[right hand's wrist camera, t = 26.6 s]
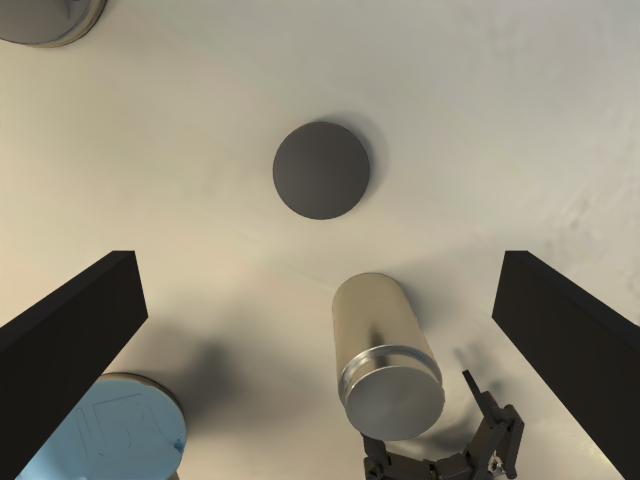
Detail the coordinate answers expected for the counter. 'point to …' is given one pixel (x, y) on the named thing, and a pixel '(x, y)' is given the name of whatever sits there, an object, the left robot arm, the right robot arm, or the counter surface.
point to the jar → (384, 361)
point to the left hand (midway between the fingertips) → (413, 400)
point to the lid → (321, 170)
